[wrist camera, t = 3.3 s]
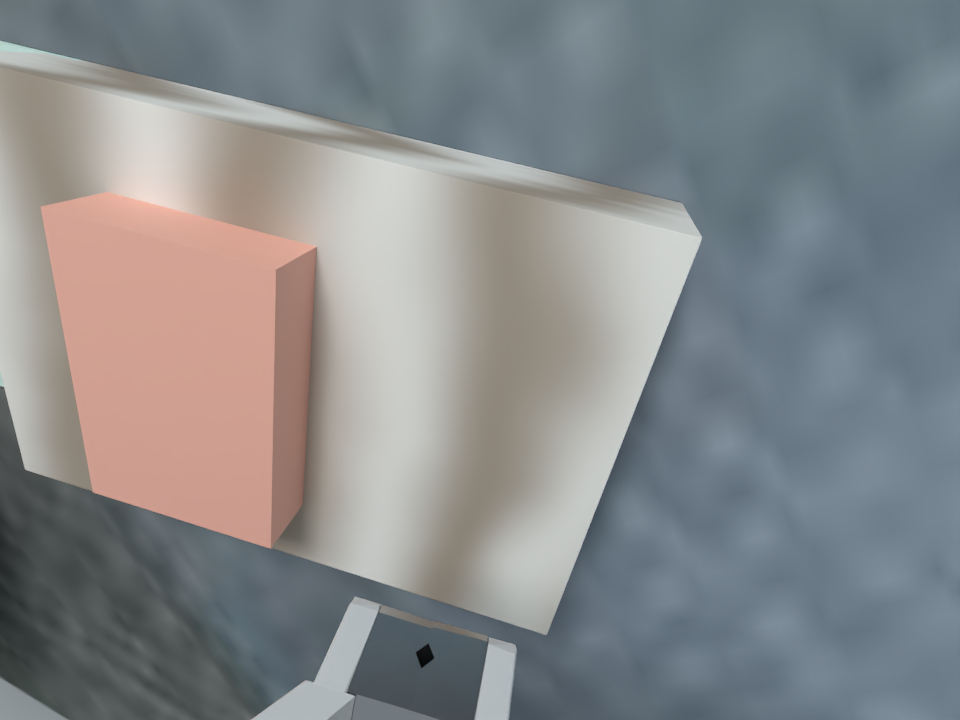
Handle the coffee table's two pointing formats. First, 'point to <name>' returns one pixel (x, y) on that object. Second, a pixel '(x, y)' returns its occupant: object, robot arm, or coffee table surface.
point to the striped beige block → (372, 319)
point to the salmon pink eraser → (187, 360)
